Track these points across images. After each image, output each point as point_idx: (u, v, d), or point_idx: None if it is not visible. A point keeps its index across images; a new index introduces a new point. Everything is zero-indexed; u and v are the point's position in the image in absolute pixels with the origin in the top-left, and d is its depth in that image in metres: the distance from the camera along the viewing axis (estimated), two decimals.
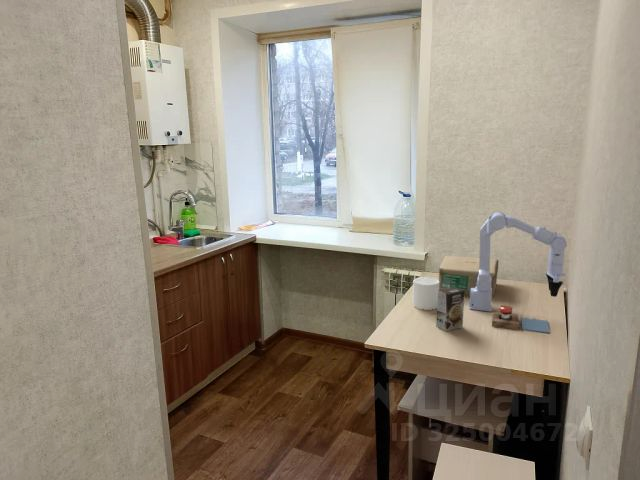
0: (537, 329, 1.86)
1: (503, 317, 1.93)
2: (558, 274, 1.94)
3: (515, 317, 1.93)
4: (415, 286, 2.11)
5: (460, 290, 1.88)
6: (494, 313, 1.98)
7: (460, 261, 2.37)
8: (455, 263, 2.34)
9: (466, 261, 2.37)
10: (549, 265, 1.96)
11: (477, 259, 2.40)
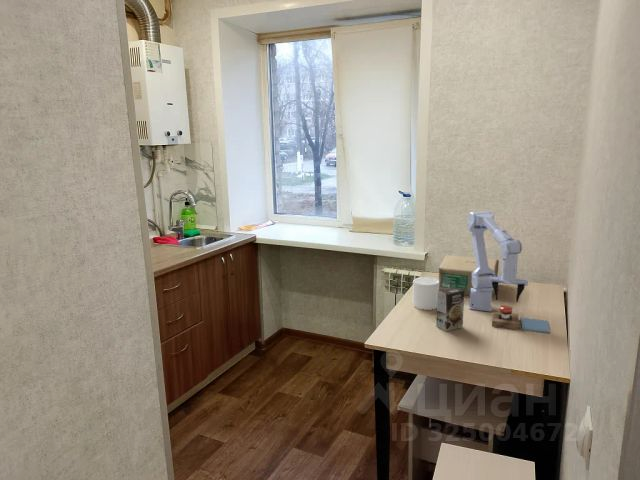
0: (537, 329, 1.86)
1: (503, 317, 1.93)
2: (501, 278, 1.89)
3: (515, 317, 1.93)
4: (415, 286, 2.11)
5: (460, 290, 1.88)
6: (494, 313, 1.98)
7: (460, 261, 2.38)
8: (455, 263, 2.34)
9: (466, 261, 2.37)
10: None
11: None
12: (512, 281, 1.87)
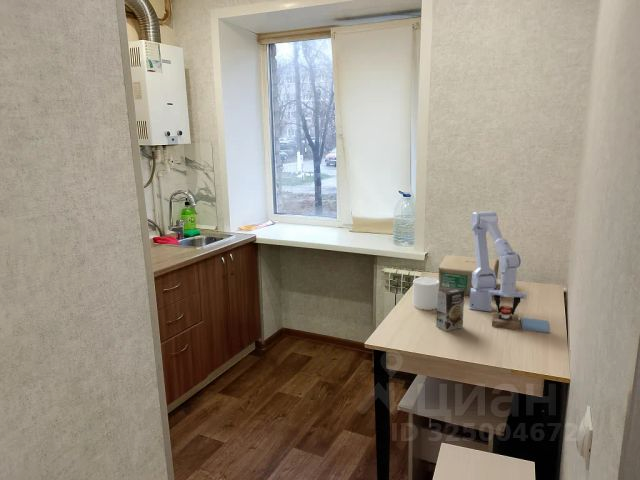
0: (537, 329, 1.86)
1: (503, 317, 1.93)
2: (500, 292, 1.91)
3: (515, 317, 1.93)
4: (415, 286, 2.11)
5: (460, 290, 1.88)
6: (494, 313, 1.98)
7: (460, 261, 2.38)
8: (455, 262, 2.35)
9: (466, 260, 2.38)
10: None
11: None
12: (511, 294, 1.88)
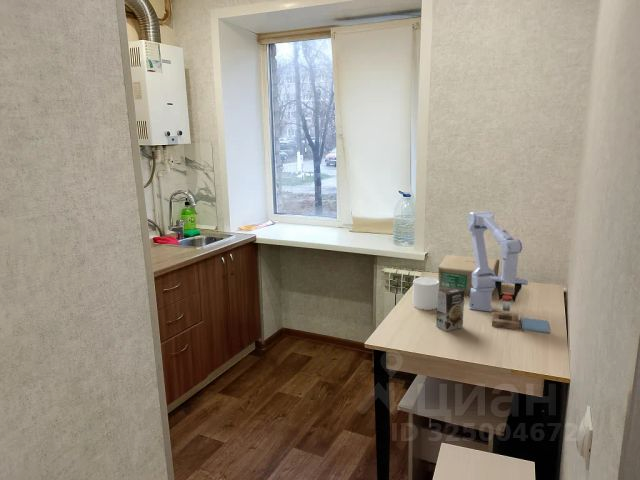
0: (537, 329, 1.86)
1: (504, 304, 1.91)
2: (501, 278, 1.89)
3: (515, 317, 1.93)
4: (415, 286, 2.11)
5: (460, 290, 1.88)
6: (494, 313, 1.98)
7: (460, 260, 2.39)
8: (455, 262, 2.35)
9: (466, 260, 2.38)
10: None
11: None
12: (512, 281, 1.87)
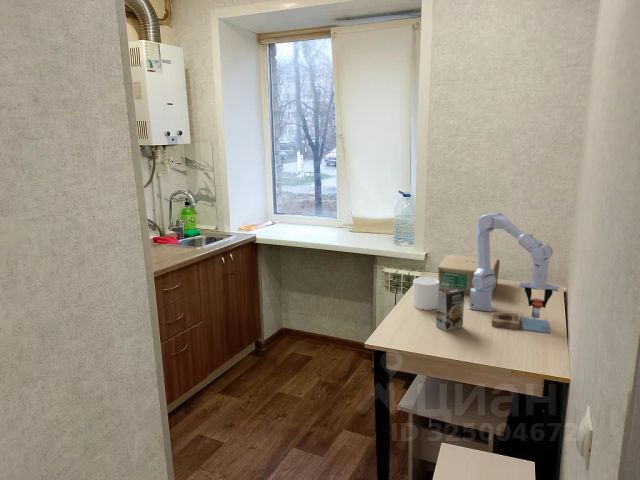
0: (537, 329, 1.86)
1: (534, 310, 1.88)
2: (531, 284, 1.87)
3: (515, 317, 1.93)
4: (415, 286, 2.11)
5: (460, 290, 1.88)
6: (494, 313, 1.98)
7: (460, 260, 2.39)
8: (455, 262, 2.36)
9: (466, 260, 2.39)
10: None
11: None
12: (543, 287, 1.84)
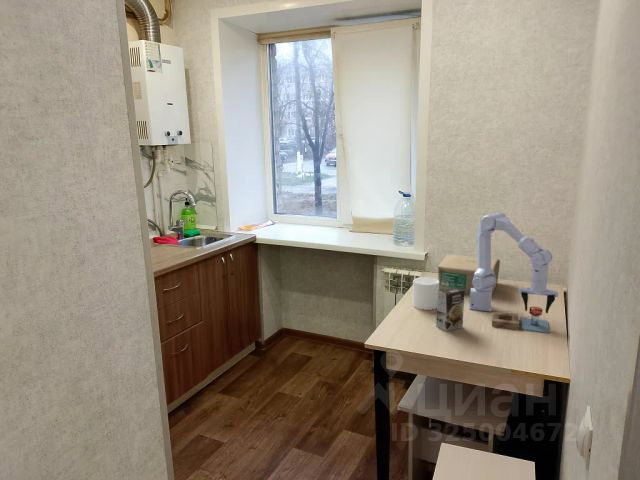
0: (537, 329, 1.86)
1: (533, 318, 1.89)
2: (531, 289, 1.87)
3: (515, 317, 1.93)
4: (415, 286, 2.11)
5: (460, 290, 1.88)
6: (494, 313, 1.98)
7: (460, 260, 2.39)
8: (455, 262, 2.36)
9: (466, 260, 2.39)
10: None
11: None
12: (542, 292, 1.84)
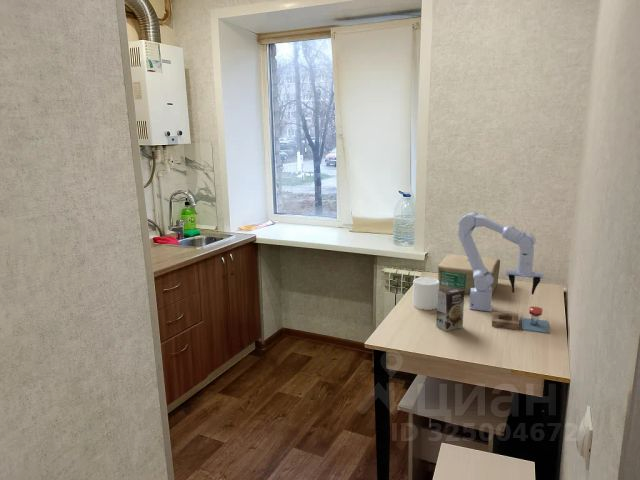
0: (537, 329, 1.86)
1: (533, 318, 1.89)
2: (517, 272, 1.97)
3: (515, 317, 1.93)
4: (415, 286, 2.11)
5: (460, 290, 1.88)
6: (494, 313, 1.98)
7: (461, 260, 2.40)
8: (455, 261, 2.37)
9: (467, 260, 2.39)
10: None
11: None
12: (528, 274, 1.94)
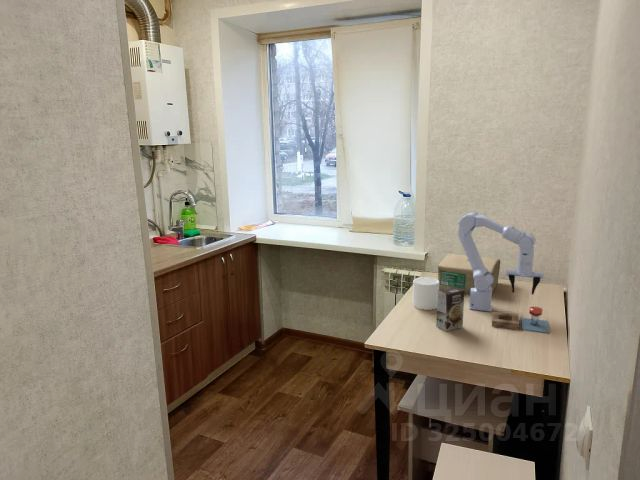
0: (537, 329, 1.86)
1: (533, 318, 1.89)
2: (517, 272, 1.97)
3: (515, 317, 1.93)
4: (415, 286, 2.11)
5: (460, 290, 1.88)
6: (494, 313, 1.98)
7: (461, 259, 2.40)
8: (455, 261, 2.37)
9: (467, 259, 2.40)
10: None
11: None
12: (528, 274, 1.94)
